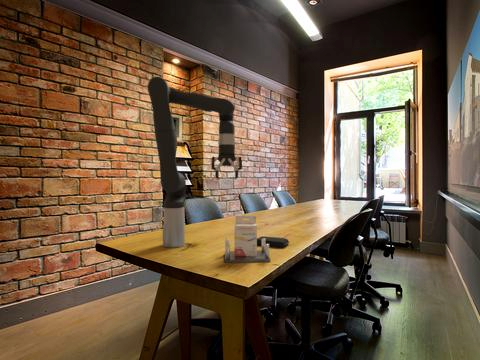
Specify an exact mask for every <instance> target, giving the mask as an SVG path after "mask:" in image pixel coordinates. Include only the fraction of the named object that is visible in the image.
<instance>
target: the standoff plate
mask: <svg viewBox="0 0 480 360" xmlns="http://www.w3.org/2000/svg"><path fill="white" fill-rule="evenodd" d="M261 241H262V246H261V250H257V256H235V255H234V250H232V251H231V245H230V239H229V238H226V239H225V248H224V249H225V251H224V262H225V264H230V263H231V264H233V263H265V262H266V263H268V262H270V263H271V257H270V247H269V244H266V239H264V238H263V239H261Z"/></svg>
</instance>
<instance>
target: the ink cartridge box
mask: <svg viewBox="0 0 480 360" xmlns="http://www.w3.org/2000/svg"><path fill="white" fill-rule="evenodd" d="M245 219H246V220H245ZM257 238H258V225H257V217H256V215H236V216H235V223H234V244H233V245H234V247H233V248H234V250H233V251H234V255H235V256H257V251H258V249H257V248H258V245H257Z"/></svg>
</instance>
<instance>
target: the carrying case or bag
mask: <svg viewBox="0 0 480 360" xmlns="http://www.w3.org/2000/svg"><path fill="white" fill-rule="evenodd" d="M263 238H264V239H266V244H269V248H278V249H284V248H285V247H286V246H287V245H288V244H289V243H290V241H289V239H288V238H285V237H284V238H283V237H276V236H275V237H272V236H259V237H257V247H258V246H260V247H262V241H261V239H263Z"/></svg>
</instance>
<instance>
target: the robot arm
mask: <svg viewBox="0 0 480 360" xmlns="http://www.w3.org/2000/svg"><path fill="white" fill-rule="evenodd" d="M147 91H148V94H149V99H150V102H151V108H152V114H153V115H152V116H153V128H154V137H155V142H156V148H157V154H158V160H159V174H160V176H159V177H160V185H161V189H163V190H164V191H165V192H166V195H165V199H164V201H163V225H162V248H180V247H184V246H185V244H186V237H185V235H186V229H185V228H186V227H185V226H186V225H185V219H186V218H185V205H186V204H185V202H186V199H187V183H186V182H187V181H186V177H185V176H184V174H183V173H181V172H179V170H178V166H177V150H178V136H177V131H176V126H175V122H174V121H175V120H174V118H173V115H172V111H171V108H170V104H173V105H174V104H175V105H181V106H185V107H189V108H193V109H195V110H199V111H203V112H206V113H211V112H213V113H218V119H219V127H218V128H219V129H218V130H219V131H218V133H219V134H218V156H212V157H211V165H210V167H211V168H210V169H211V170H213V171H215V173H214V174H215V178H216V180H219V178H220V177H219V174H220V173H219V169H220V168H221V167H230V166H232V167H233V169H234V170H235V172H234V179H235V180H238V177H239V171H241V170H242V169H243V163H242V157H241V156H236V154H235V152H236V148H235V147H236V145H235V144H236V139H235V125H234V112H235V104H234V102H233V101H232V100H230V99H226V98H222V97H221V98H220V97H213V96H210V95H207V94H203V93H199V92H187V91H181V90H178V89H175V88H172V87H170V86H169V84H168V82H167V80H165V79H164V78H163V77H161V76H153V77H151V78H150V79H149V81H148V83H147ZM217 160H218V162H219V164H218V165H217V166H216V167H215V165H216V164H215V163H216V162H217ZM235 161H237V162H238V167H237V165H236V164H235V163H234V162H235Z"/></svg>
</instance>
